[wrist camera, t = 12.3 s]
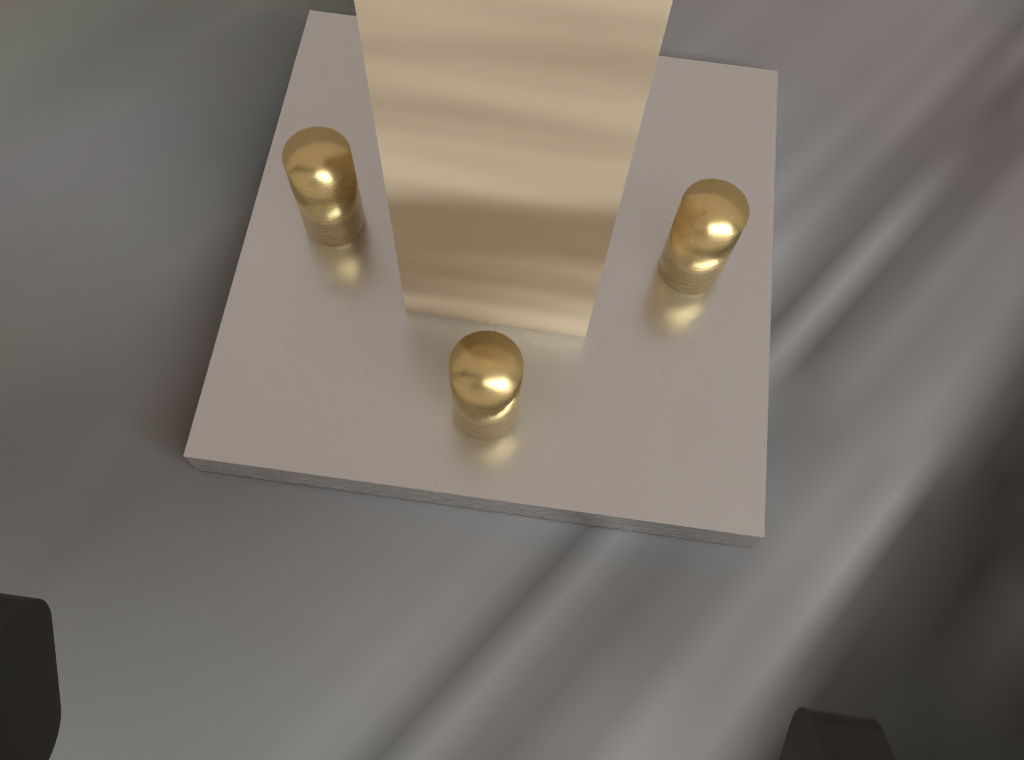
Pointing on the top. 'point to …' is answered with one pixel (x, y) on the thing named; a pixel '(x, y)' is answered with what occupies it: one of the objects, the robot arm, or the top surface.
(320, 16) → the plate
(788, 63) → the top surface
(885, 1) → the top surface
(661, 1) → the block
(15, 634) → the robot arm
